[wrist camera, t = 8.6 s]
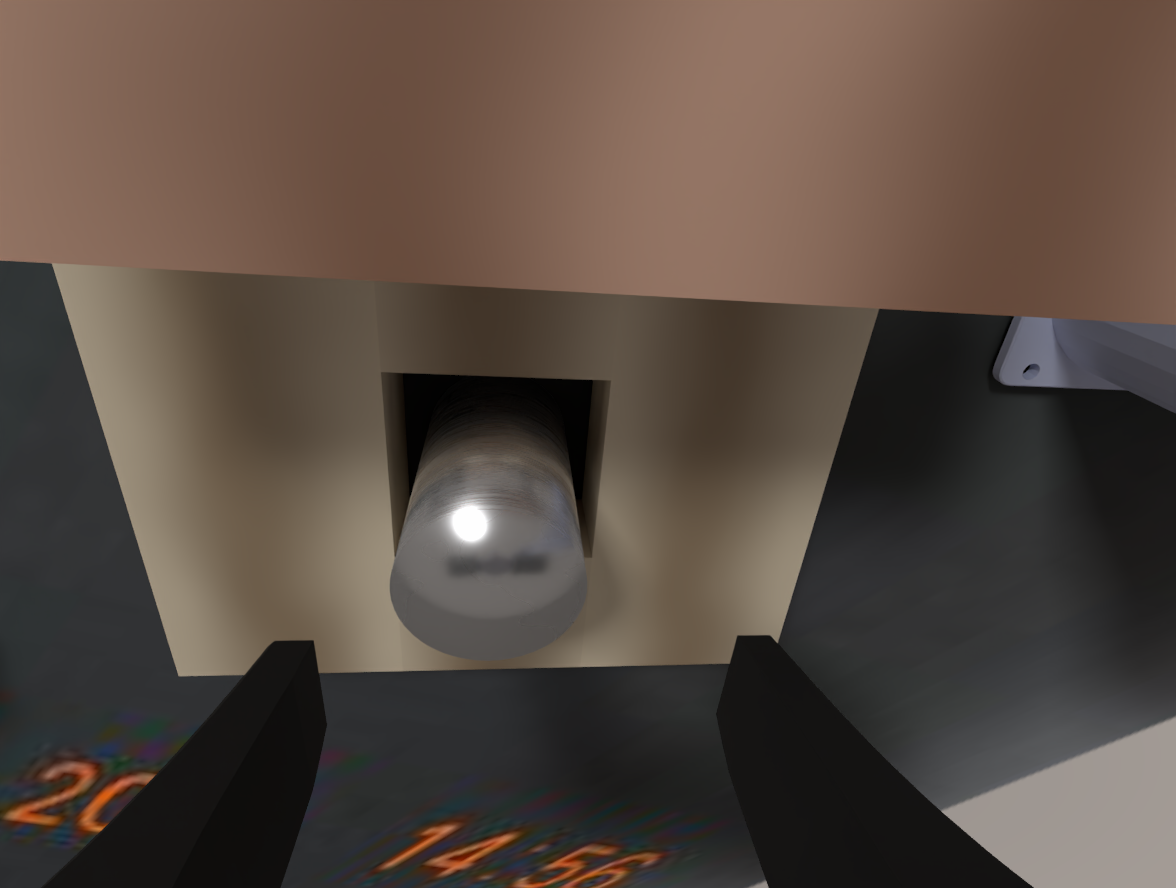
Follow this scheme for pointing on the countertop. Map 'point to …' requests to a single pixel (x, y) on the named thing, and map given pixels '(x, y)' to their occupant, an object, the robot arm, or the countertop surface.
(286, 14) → the socket block
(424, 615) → the steel peg
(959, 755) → the countertop surface
